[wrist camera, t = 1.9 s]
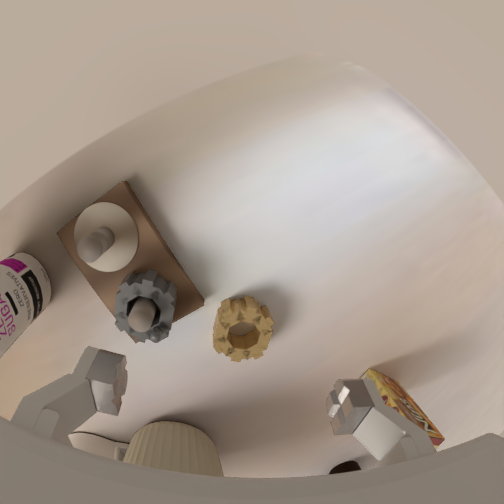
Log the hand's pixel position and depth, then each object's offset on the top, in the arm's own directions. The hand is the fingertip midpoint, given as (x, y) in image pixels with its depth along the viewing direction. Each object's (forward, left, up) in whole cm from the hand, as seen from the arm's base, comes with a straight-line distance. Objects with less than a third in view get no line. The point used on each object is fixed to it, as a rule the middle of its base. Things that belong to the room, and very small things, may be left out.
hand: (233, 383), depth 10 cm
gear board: (+3, +10, -23) cm, 26 cm away
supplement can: (+8, +24, -24) cm, 35 cm away
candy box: (-33, -9, -24) cm, 42 cm away
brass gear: (-10, +3, -23) cm, 26 cm away
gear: (-2, +10, -22) cm, 24 cm away
